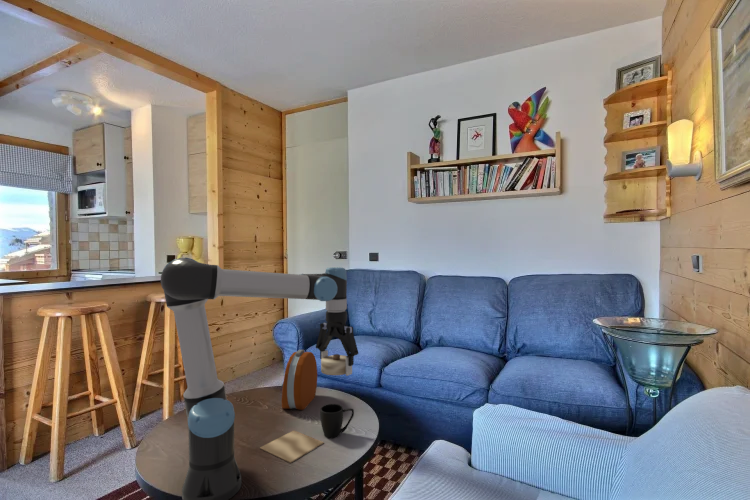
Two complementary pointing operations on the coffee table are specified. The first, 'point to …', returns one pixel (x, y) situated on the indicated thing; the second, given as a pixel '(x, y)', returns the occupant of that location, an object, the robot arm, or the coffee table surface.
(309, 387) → the alarm clock
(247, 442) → the coffee table surface
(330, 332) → the robot arm
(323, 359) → the lid
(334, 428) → the mug
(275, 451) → the mat
